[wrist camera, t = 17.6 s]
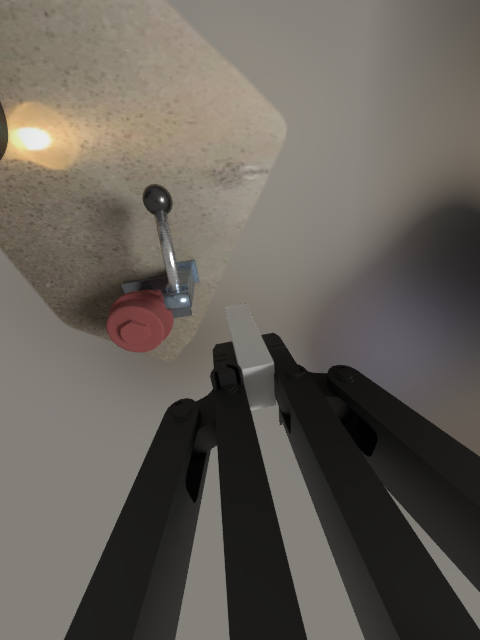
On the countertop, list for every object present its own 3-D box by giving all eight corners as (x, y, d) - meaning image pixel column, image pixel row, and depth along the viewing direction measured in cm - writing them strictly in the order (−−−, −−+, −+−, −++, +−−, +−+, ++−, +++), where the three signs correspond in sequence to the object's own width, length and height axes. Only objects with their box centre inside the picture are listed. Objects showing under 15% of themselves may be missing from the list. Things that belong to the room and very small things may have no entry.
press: (118, 271, 38) (80, 296, 26) (194, 259, 39) (191, 278, 27) (139, 321, 43) (115, 361, 31) (206, 310, 45) (207, 343, 33)
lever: (145, 195, 27) (134, 179, 23) (172, 192, 27) (165, 175, 24) (170, 310, 29) (163, 311, 25) (194, 306, 29) (191, 306, 25)
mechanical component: (180, 322, 44) (132, 326, 42) (173, 278, 39) (119, 280, 37) (173, 357, 33) (108, 363, 31) (162, 301, 28) (85, 306, 27)
